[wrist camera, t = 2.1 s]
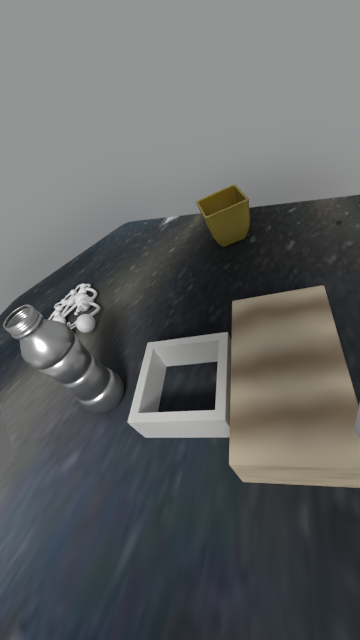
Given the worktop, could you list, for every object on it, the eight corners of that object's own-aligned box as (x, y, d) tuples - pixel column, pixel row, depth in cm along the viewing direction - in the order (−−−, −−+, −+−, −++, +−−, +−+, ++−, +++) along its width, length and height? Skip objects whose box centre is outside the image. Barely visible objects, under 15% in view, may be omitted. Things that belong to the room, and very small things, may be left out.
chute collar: (161, 360, 47) (147, 342, 44) (236, 352, 43) (227, 331, 40) (145, 437, 39) (127, 422, 36) (235, 437, 35) (225, 419, 32)
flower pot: (244, 221, 66) (235, 183, 60) (257, 238, 60) (248, 198, 54) (208, 237, 67) (195, 201, 61) (217, 256, 61) (204, 218, 55)
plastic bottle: (135, 396, 45) (49, 309, 31) (100, 427, 43) (-7, 349, 30) (119, 372, 49) (37, 287, 36) (86, 400, 48) (-12, 322, 34)
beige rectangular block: (241, 327, 46) (232, 301, 42) (325, 315, 42) (323, 285, 38) (242, 481, 32) (229, 464, 28) (370, 488, 27) (376, 469, 23)
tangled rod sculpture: (56, 306, 75) (44, 295, 72) (103, 279, 73) (92, 266, 70) (46, 360, 60) (30, 349, 58) (103, 328, 58) (90, 315, 56)
